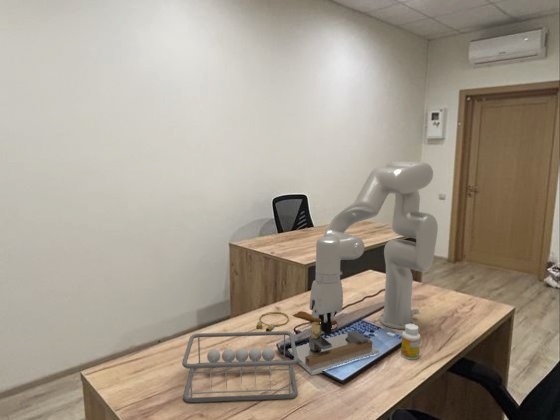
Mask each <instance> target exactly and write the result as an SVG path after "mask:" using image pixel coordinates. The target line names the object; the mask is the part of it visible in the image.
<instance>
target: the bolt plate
mask: <svg viewBox="0 0 560 420" xmlns="http://www.w3.org/2000/svg"><path fill="white" fill-rule="evenodd" d="M324 339H325V340H327V341H328V342H329V343H331V344H332V348H328V349H325V350H323V349H320V350H316V351H314V350H312V349H311V348H310V347H309V342H308V343H304V344H302V345H297V346H296V350H297V355H298V362H297V363H298V364H299V365H300V366H301V367H302V368H304V369H305V370H306V371H307V373H309V374H310V375H311V376H314V375H315V376H316V375H318V374H322V373H323V372H322V371H323V370H325V369H328V368H331V367H333V366H337V365H340V364H343V363H347V362H349V361H352V360H355V359H359V358H363V357H367V356H370V355H374V354H377V353H380V352H379V351H380V350H379V349H378V348H376V347H374V346H373V341H372V340H371V339H369V338H367V337H366V336H364V335H363V334H361V333H359V332H358V331H357V330H352V331H347V333H343V334H339V335H336V336H335V335H334V336H332V337H328V338H324ZM288 351H289V352H290V353H291V354H292V355H293V351H292V347H291V348H287V352H288Z"/></svg>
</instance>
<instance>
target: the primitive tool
mask: <svg viewBox="0 0 560 420" xmlns="http://www.w3.org/2000/svg"><path fill="white" fill-rule="evenodd" d="M311 315H312V313H311V314H310V313H309V312H307V311H301V310H299V311H298V312H296V313H294V314H292V315H291V316H293V317H295V318H298V319H300V320H305V321H308V322H311V323H313V322H319V323H320V322H321V320H320V319H319V318H314V317H312V316H311ZM335 324H337V325H338V321H336V320H335V319H334V320H333V321H332V325H335Z"/></svg>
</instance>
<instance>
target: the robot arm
mask: <svg viewBox="0 0 560 420" xmlns="http://www.w3.org/2000/svg"><path fill="white" fill-rule="evenodd" d="M433 178H434V170H433V167H432V166H431V165H430V164H429V163H428V162H424V161H409V160H396V161H395V160H394V161H390V162H389V163H387V164H386V166H379V167H375V168H373V170H371V172H370V173H369V175H368V176H367V178H366V180H365V182H364V184H363V185H362V187H361V190H360V191H359V193H358V194H357V197H356V199H355V200H354V202H353V203H351V204H350V205H348V206H347V207H345V208H344V209H343V210H341V211H340V212H339V213H338V214H337V215H335V216H334V217H333V218H332V219H331V221H330V223H329V225H328V227H327V228H326V230H325V232H324V234H323V236H321V237H319V238H317V239H316V245H315V247H316V248H315V249H316V250H315V280H313V281H312V284H311V290H310V297H309V310H310V311H311V316H312V317H314V318H319V319H320V320H321V329H320V332H322V333H324V334H325V335H329V334H331V333H332V329H331V328H332V321H334V320H335V317H336V315H338V314H339V313H341V312H342V308H343V304H344V293H343V292H344V291H343V284H342V280H341V276H342V275H343V271H342V270H341V261H342V260H343V261H344V260H345V261H346V260H347V261H349V260H350V261H351V260H352V261H353V260H357V259H359V258H360V257H361V256H363V254H364V252H365V243H364V241H363V240H362V239H361V238H360V237H358V236H356V235H354V234H353V235H352V234H349V233H346V231H347V230H348V229H349V228H350V227H352V225H354V224H356V223H357V224H358V223H360V222H363V221H366V220H369V219H372V218H374V217H376V216H377V215H379V213H380V210H381V208H382V206H383V205H384V203H385V201H386V199H387V197H388V195H390V194H392V195H394V196H395V198H394V208H393V215H392V223H391V225H392V231H393V232H394V234H396V235H398V236H403V237H405V238H411V239H414V240H415V241H416V242H414V241H411V240H406V239H402V238H392V239H390V240H389V241H387V242H386V244H385V246H384V248H383V256H384V263H385V286H384V301H383V302H384V304H383V307H384V308H383V313H381V314H380V315H379V319H378V321H379V322H380V323H381V324H382V325H383V326H386V327H388V328H391V329H398V330H405V325H406V324H414V325H415V320H414V318H413V316H414V315H418V314H419V313H420V310H419V309H418V308H414V309H412V297H413V296H412V292H413V280H414V279H413V274H412V271H411V270H413V271H416V272H423V273H424V272H427V271H428V270H430V268H431V267H432V265H433V262H434V256H435V252H436V243H437V237H438V231H439V230H438V226H439V225H438V221H437V218H436V217H435V216H434V215H433V214H430V213H427V212H421V211H420V203H421V195H420V192H419V190H422V189H424V188H426V187H427V186H429V184H430V183H431V182H432V181H433Z"/></svg>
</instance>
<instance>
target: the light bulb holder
mask: <svg viewBox="0 0 560 420" xmlns="http://www.w3.org/2000/svg"><path fill="white" fill-rule="evenodd" d="M310 330H311V334H310V335H311V337H308V343H309V347H310V348H311V349H312V350H314V351H316V350H320V349H323V350H325V349H328V348H332V344H331V343H329V342H328V341H327V340H325V339H326V338H324V337H323V336H321V324H320V323H319V322H311V329H310Z"/></svg>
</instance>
